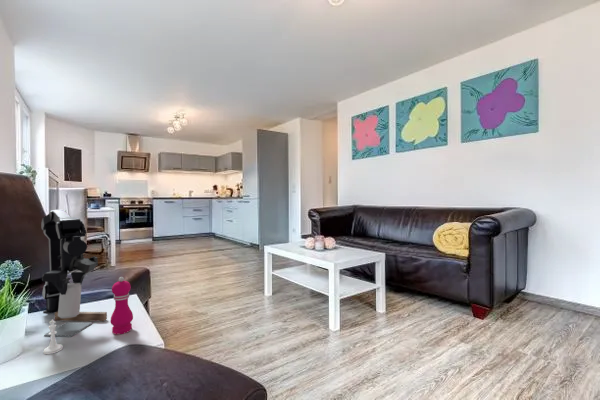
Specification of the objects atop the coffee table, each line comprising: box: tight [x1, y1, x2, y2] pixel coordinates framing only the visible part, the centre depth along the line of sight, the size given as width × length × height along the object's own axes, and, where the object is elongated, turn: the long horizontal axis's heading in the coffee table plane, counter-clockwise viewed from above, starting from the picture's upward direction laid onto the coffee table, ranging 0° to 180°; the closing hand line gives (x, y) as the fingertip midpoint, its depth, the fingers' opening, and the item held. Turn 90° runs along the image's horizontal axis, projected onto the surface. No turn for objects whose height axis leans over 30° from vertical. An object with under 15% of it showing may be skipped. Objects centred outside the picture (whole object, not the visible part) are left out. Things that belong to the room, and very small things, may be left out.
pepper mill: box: [110, 276, 134, 335], centre depth 111 cm, size 7×7×20 cm
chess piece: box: [42, 318, 64, 355], centre depth 98 cm, size 5×5×10 cm
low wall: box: [54, 311, 108, 322], centre depth 120 cm, size 20×2×3 cm, turn 89°
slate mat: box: [43, 321, 93, 338], centre depth 112 cm, size 10×10×1 cm
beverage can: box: [58, 282, 83, 318], centre depth 112 cm, size 6×6×12 cm
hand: (71, 293), depth 113 cm, fingers closed on beverage can, 6 cm apart
